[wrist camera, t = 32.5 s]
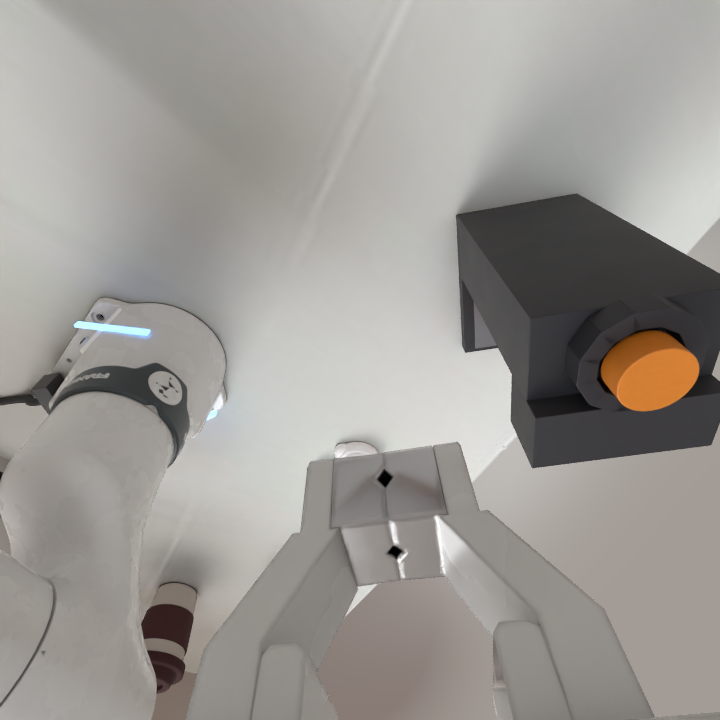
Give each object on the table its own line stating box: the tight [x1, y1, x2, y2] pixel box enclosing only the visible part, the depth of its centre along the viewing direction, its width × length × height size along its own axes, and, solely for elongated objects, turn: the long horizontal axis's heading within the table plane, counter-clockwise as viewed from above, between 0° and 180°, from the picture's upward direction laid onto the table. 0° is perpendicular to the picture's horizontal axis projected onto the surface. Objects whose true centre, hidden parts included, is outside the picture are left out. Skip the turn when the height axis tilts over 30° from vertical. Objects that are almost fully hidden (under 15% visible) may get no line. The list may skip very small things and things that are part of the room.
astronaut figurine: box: [334, 442, 379, 458], centre depth 64 cm, size 9×12×3 cm
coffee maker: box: [459, 274, 720, 468], centre depth 39 cm, size 15×12×24 cm
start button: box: [601, 330, 699, 411], centre depth 26 cm, size 4×4×2 cm
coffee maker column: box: [456, 194, 720, 412], centre depth 36 cm, size 7×12×24 cm, turn 100°
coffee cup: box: [141, 583, 197, 694], centre depth 76 cm, size 10×10×15 cm
